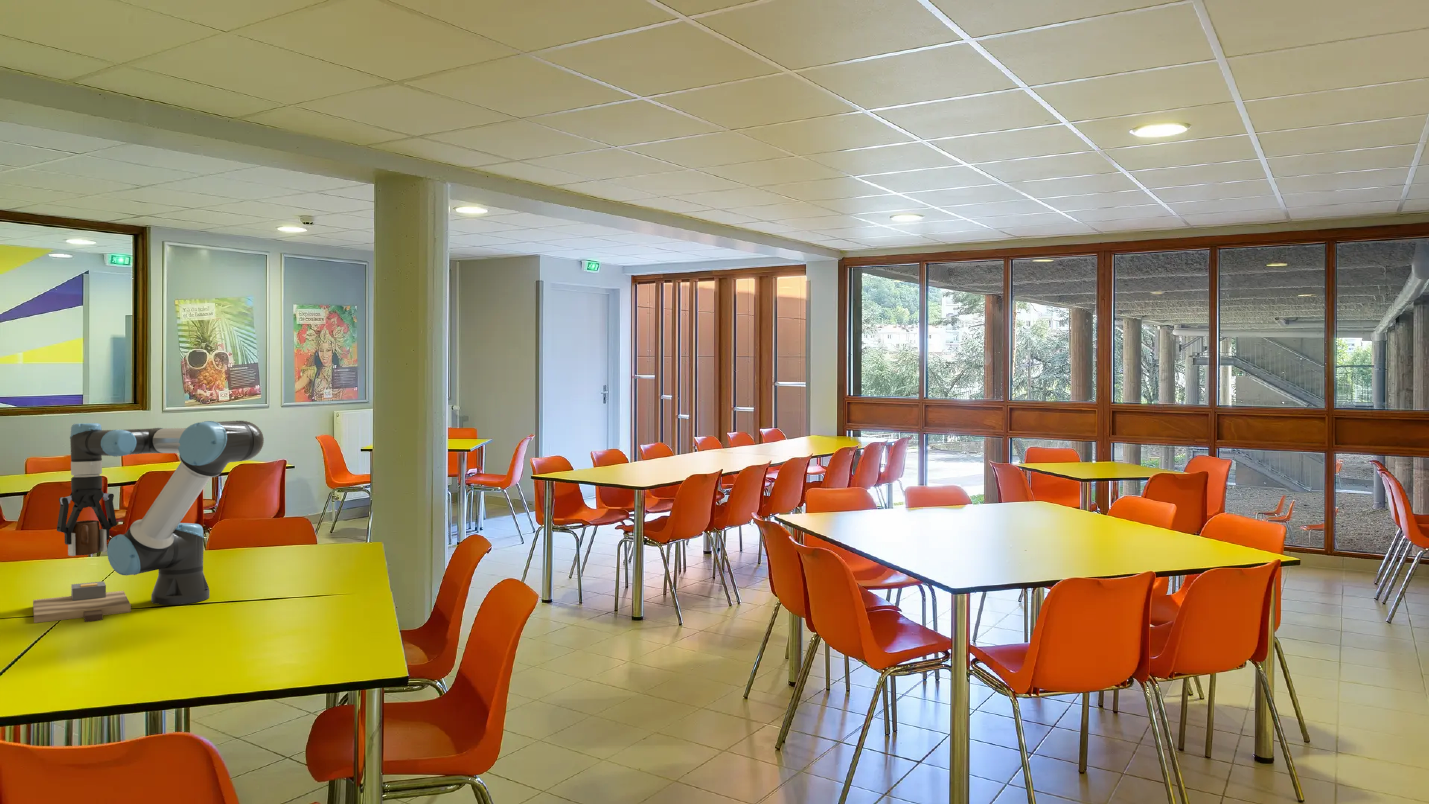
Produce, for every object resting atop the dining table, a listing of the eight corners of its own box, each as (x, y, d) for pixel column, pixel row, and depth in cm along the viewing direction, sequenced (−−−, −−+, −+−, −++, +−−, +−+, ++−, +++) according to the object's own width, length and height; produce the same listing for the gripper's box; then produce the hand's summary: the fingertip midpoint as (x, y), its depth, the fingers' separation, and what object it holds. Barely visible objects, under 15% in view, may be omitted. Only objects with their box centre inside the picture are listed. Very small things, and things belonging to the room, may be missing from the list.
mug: (101, 555, 267) (100, 523, 267) (69, 559, 262) (68, 526, 262) (99, 550, 276) (98, 519, 276) (68, 553, 272) (68, 521, 272)
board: (33, 606, 265) (33, 599, 265) (123, 597, 278) (123, 590, 278) (34, 627, 242) (34, 620, 242) (132, 616, 256) (132, 609, 256)
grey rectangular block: (71, 596, 270) (71, 583, 270) (104, 592, 275) (104, 579, 275) (72, 600, 264) (72, 587, 264) (105, 597, 269) (105, 584, 269)
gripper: (117, 472, 281) (118, 547, 281) (40, 477, 263) (41, 557, 263) (130, 473, 277) (131, 549, 277) (52, 478, 259) (53, 559, 259)
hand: (87, 553), depth 270 cm, fingers closed on mug, 8 cm apart
